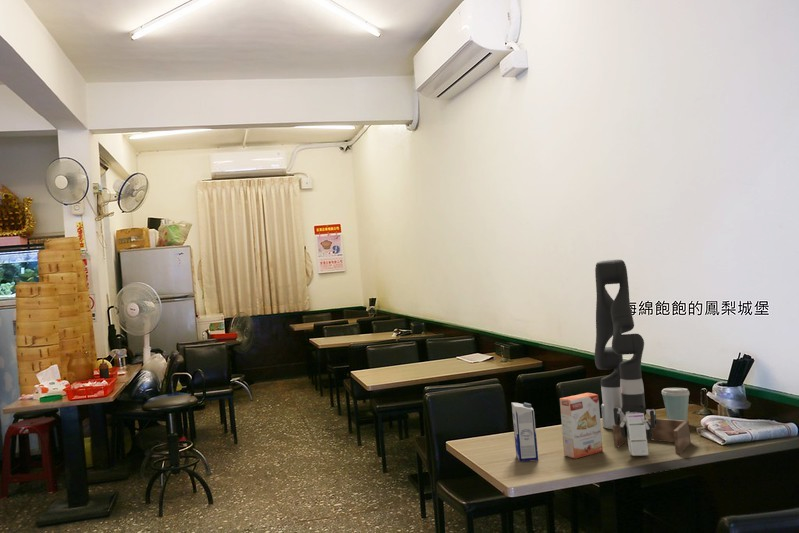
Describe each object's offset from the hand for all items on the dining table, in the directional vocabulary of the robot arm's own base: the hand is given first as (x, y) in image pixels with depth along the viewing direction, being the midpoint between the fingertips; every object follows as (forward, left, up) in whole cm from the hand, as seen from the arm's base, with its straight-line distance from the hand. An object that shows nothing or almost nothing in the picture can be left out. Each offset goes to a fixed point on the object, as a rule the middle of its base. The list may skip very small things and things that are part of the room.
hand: (636, 438), depth 202 cm
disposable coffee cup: (+1, +47, -7) cm, 47 cm away
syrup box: (0, 0, -5) cm, 5 cm away
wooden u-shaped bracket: (0, +15, -6) cm, 16 cm away
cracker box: (-18, -4, -7) cm, 20 cm away
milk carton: (-34, -17, -7) cm, 39 cm away
